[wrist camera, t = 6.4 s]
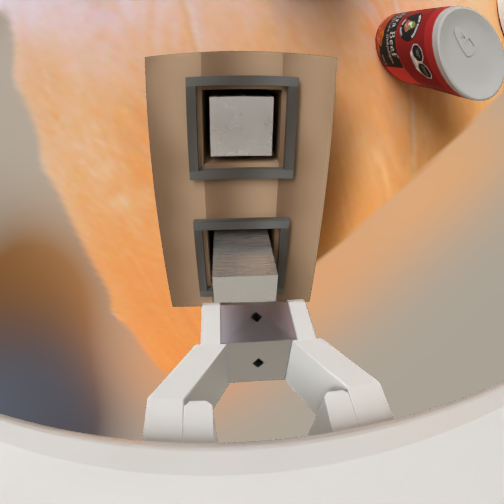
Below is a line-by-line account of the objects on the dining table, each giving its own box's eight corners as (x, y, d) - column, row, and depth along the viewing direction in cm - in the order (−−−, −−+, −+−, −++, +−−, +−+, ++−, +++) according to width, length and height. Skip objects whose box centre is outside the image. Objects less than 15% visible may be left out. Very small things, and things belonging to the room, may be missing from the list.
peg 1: (259, 87, 26) (273, 96, 18) (258, 129, 28) (271, 155, 21) (214, 87, 26) (209, 97, 18) (214, 129, 28) (210, 156, 20)
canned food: (386, 0, 22) (452, -14, 12) (444, 41, 24) (515, 48, 14) (361, 59, 25) (422, 64, 16) (421, 96, 27) (489, 119, 18)
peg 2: (262, 210, 27) (277, 275, 20) (261, 250, 29) (274, 320, 22) (215, 211, 27) (212, 277, 19) (217, 251, 29) (216, 323, 22)
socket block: (302, 58, 25) (340, 57, 16) (290, 242, 36) (310, 306, 27) (170, 59, 24) (142, 57, 16) (183, 245, 35) (171, 311, 27)
